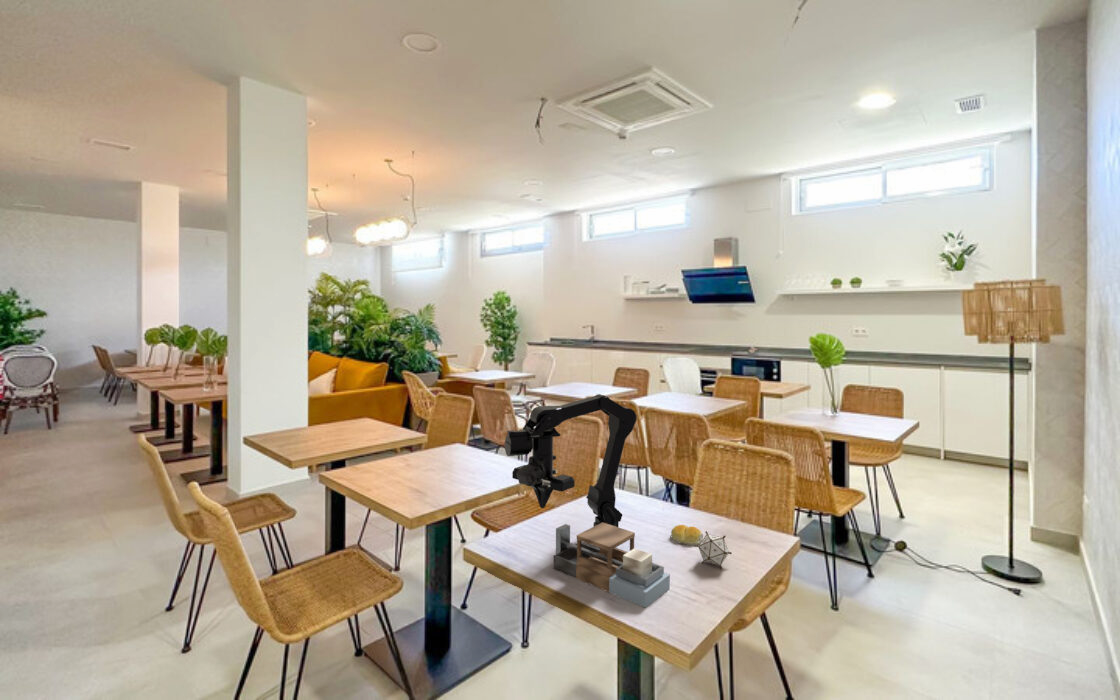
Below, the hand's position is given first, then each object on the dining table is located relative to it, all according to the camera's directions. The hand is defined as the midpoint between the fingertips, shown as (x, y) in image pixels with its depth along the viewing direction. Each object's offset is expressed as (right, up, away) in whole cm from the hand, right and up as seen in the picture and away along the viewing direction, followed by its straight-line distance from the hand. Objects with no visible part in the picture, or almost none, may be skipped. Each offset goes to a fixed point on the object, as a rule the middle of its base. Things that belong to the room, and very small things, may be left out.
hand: (542, 507), depth 145 cm
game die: (+46, -13, -7) cm, 48 cm away
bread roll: (+43, -12, +8) cm, 45 cm away
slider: (+16, -12, -15) cm, 25 cm away
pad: (+24, -13, -21) cm, 35 cm away
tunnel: (+13, -13, -12) cm, 22 cm away
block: (+23, -10, -21) cm, 33 cm away
